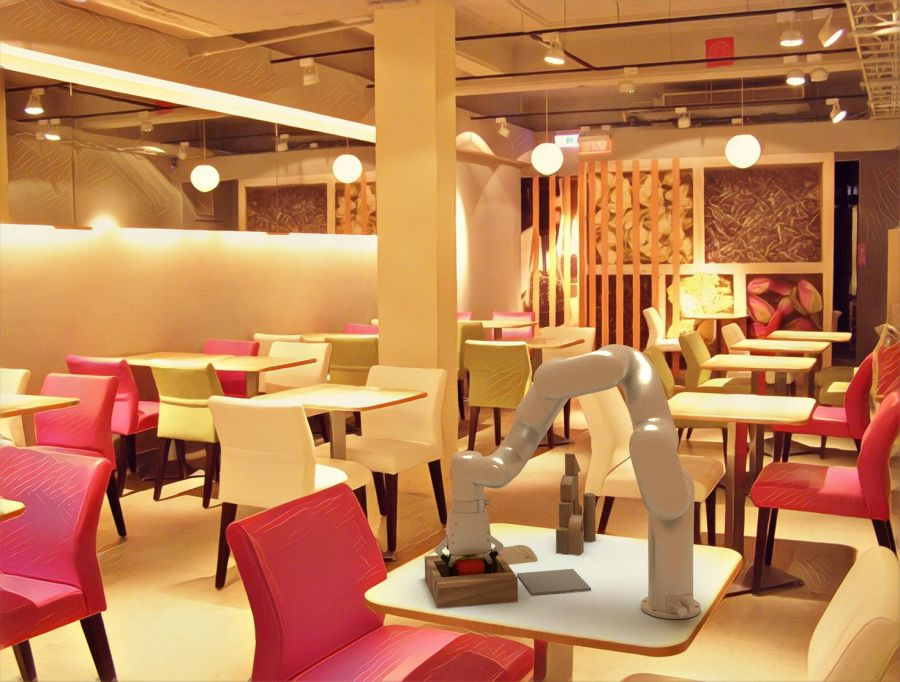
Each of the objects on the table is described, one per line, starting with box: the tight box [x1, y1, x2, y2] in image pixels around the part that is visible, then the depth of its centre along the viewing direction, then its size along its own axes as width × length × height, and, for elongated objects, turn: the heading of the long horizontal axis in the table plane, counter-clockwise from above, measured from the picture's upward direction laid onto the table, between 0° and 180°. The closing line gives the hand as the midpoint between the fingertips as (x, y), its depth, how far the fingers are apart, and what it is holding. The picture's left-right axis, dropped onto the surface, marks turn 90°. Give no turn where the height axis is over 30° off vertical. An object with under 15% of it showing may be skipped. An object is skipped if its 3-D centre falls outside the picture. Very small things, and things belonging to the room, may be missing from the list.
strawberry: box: [454, 554, 485, 576], centre depth 222 cm, size 6×8×10 cm
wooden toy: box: [555, 452, 597, 556], centre depth 253 cm, size 16×7×25 cm, turn 156°
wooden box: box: [424, 551, 519, 608], centre depth 222 cm, size 20×18×6 cm
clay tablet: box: [491, 544, 538, 566], centre depth 246 cm, size 14×10×3 cm
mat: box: [516, 568, 592, 596], centre depth 226 cm, size 14×14×1 cm
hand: (469, 579), depth 222 cm, fingers closed on strawberry, 7 cm apart
